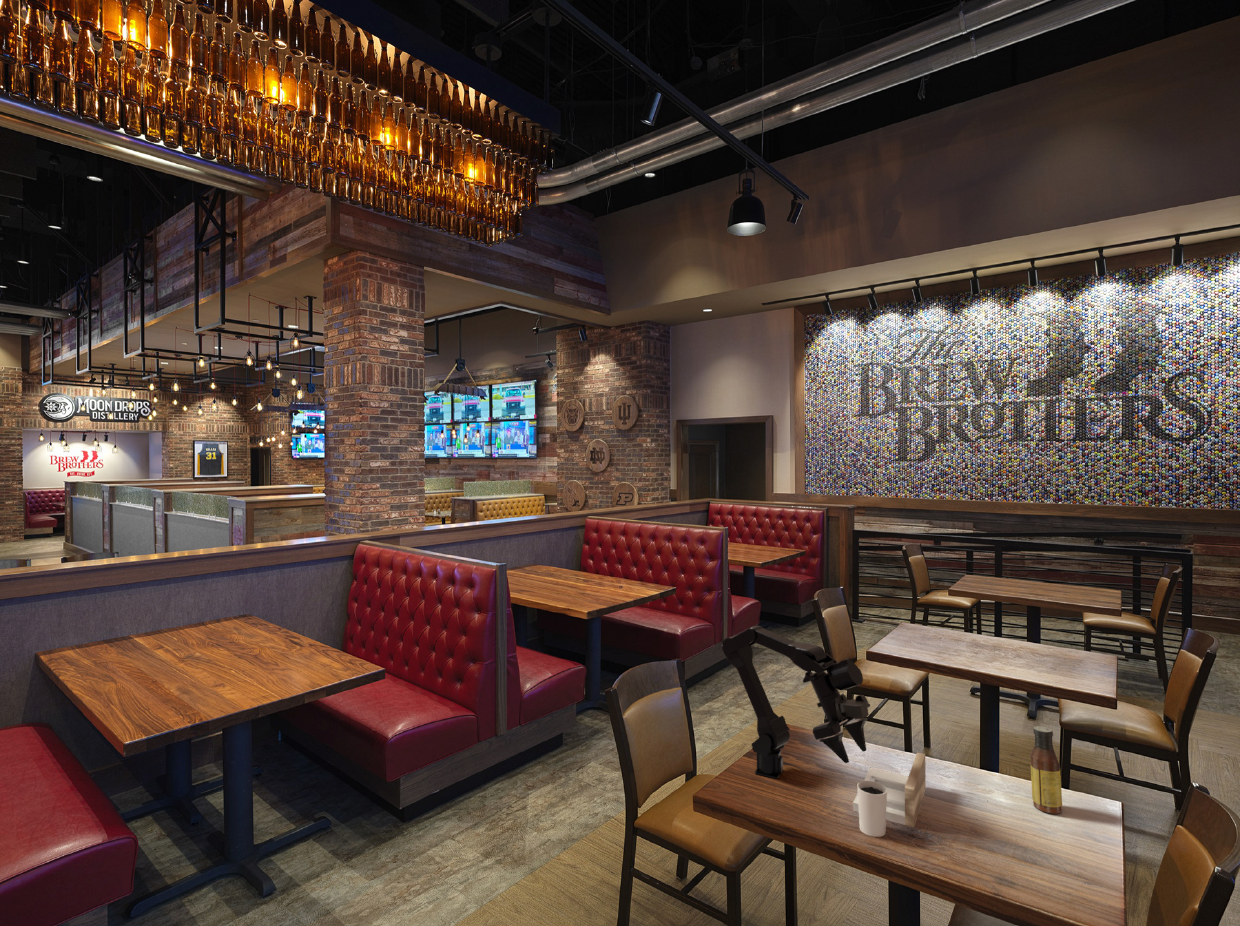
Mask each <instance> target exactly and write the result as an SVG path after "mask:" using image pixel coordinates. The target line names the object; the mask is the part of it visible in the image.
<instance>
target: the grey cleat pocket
mask: <svg viewBox="0 0 1240 926" xmlns="http://www.w3.org/2000/svg"><path fill="white" fill-rule="evenodd" d="M908 777H909V775H906V774H905V775H904V774H901V773H896V772H893V771H889V770H884V769H880V768H875V767H870V768H869V769H868V771H867V773H866V776H865V777H864V779H863V781H874V782H878V783H880V784H882V785H884V786H885V787H886V788H887V807H886V821H889V822H893V823H896V824H899V825H904V826H906V825H905V785H906V782H907V780H908ZM852 811H854V812H856V813H859V806H858V792H857V793H856V796H855V798H854V800H853V801H852Z"/></svg>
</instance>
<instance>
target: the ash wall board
mask: <svg viewBox="0 0 1240 926" xmlns="http://www.w3.org/2000/svg"><path fill="white" fill-rule="evenodd" d="M910 768H911V769H910V770H909V771H910V772H909V774H908V776H909V777H908V780H907V782H906V785H905V825H904V826H907V827H911V828H915V826H916V822H917V819H918V816H919V812H920V808H921V805H922V802H923V798H924V795H925V791H926V788H927V787H926V784H927V783H926V782H927V781H926V753H921V752H916V754H915V757H914V760H913V763H912V765H911V767H910Z"/></svg>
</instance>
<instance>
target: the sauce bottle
mask: <svg viewBox="0 0 1240 926" xmlns="http://www.w3.org/2000/svg"><path fill="white" fill-rule="evenodd" d="M1033 734H1034V746H1033V748H1032V749H1031V751H1030V777H1031V779H1030V780H1031V783H1030V784H1031V797H1032V798H1031V799H1032V802H1033V806H1034V808H1036V810H1037V809H1038V810H1039V811H1041V812H1043V813H1047V814H1051V815H1057V814H1058V815H1059V814H1060V813H1062V811H1063V809H1062V805H1063V796H1062V795H1063V794H1062V793H1063V792H1062V780H1061V779H1062V778H1061V777H1062V776H1061V765H1060V763H1059V760H1058V757H1057V755H1056V752H1055V750H1054V745H1053V736H1054V733H1053V730H1052V729H1051V728H1049V727H1047V726H1041V725H1036V726H1034V727H1033Z"/></svg>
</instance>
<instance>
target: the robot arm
mask: <svg viewBox="0 0 1240 926" xmlns="http://www.w3.org/2000/svg"><path fill="white" fill-rule="evenodd" d="M757 644H758V645H760V646H762V647H765V648H767V649H769V650H771V651H774V652H776V653H778V654H780V655H782V656H785V657H786V658H788V659H790V661H791V662H792V663H793V664H794V665H795V666H796V667H798V668H799V669H801V670H803V671H804V672H805V674H804V677H803V680H802V683H803V684H805V683H809V682H810V683H811V686H812V688H813V690H814V693H815V694H816V698H818V701H819V702H817V703H816V705H817V708H819V709H820V708H822V712H823V713H824V715H825V718H824V719H823V721H824V723H820V724H818V725H816V726H814V727H813V728H812V734H813V737H814V740H815V741H817V740H818V741H819V743H821V742H822V743H823V744H824V745H825V746H826V747H827V748H829V749H830V750H831V751H832V752H833V754H835V755H836V756H838V758H839V759H840V760H841V761H842V762H843V763H845V764H848V763H850V759H849V756H848V753H847V751H846V748H845V746H844V743H843V735H844V731H841V730H842V729H841V728H842V726H844V728H845V729H846V731H847V732H848V733H849V736H851V738H852V739H853V741H854V742H855V744H856V745H857V746H858V748H859V750H861V752H866V751H867V745H866V738H865V729H864V727H865V724H866V722H867V721H868V718H867V717H869V708H870V707H871V704H870V703H869V701H868V699H867V697H866V696H865V695H864V694H858V695H856V697H855V699H854V698H853V699H848V698H847V696H846V695H845V694H844V693H840V691H844V690H849V689H851V688H854V687H857V686H861V685H862V684H863V681H864V677H863V673H862V671H861V669H860V668H859V667H858V665H856V663H854V662H853V661H852V660H851V658H850V657H847V658H845V659H842V660H841V661H837V660H836V659H835V658H833V657H832V656H831V655H829V654H828V653H826V652H825V649H824V648H823V647H822V646H820V645H816V644H812V643H806V642H805V643H802V642H797V641H794V640H792V639H789V638H787V637H785V636H782V635H780V634H777V633H775V632H773V631H770V630H768V629H765V628H764V627H763V626H761V625H755V626H751V627H748V628H747V629H746V630H745V631H743V632H741V633H739V634H736V635H733V636H729V637H726V638H725V639H724V640H723V641H722V644H721V650H722V653H723V654H724V656H725V658H726V659H727V661H728V663H730V664H731V665H732V666H733V667H734V668H736V671H737V673H738V675H739V677H740V680H741V683H742V685H743V687H744V689H745V692H746V694H747V696H748V697H747V698H748V699H749V701H750V704H751V707H752V709H753V712H754V714H755V716H756V719H757V720H756V731H757V732H756V733H757V734H758V738H757V739H756V740H755V741H753V742H752V743H751V748H752V752H754V753H755V754H756V769H755V771H754V774H755V775H759V776H763V777H768V778H772V779H779V777H780V776H781V774H782V773H783V771H784V756H783V755H782V750H781V749H784V748H785V747H786V744H788V742H789V741H790V736H791V734H790V730H791V729H790V727H789V726H788V725H787V721H786V719H785V717H784V715H781V716H778V714H776V713H775V712H774V710H773V708H772V705H771V703H770V701H769V698H768V696H767V694H766V691H765V689H764V687H763V684H762V681H761V679H760V677H759V675H758V673H757V669H756V668H755V665H754V663H753V657H754V656H753V654H754V653H753V649H752V646H754V645H757Z"/></svg>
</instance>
